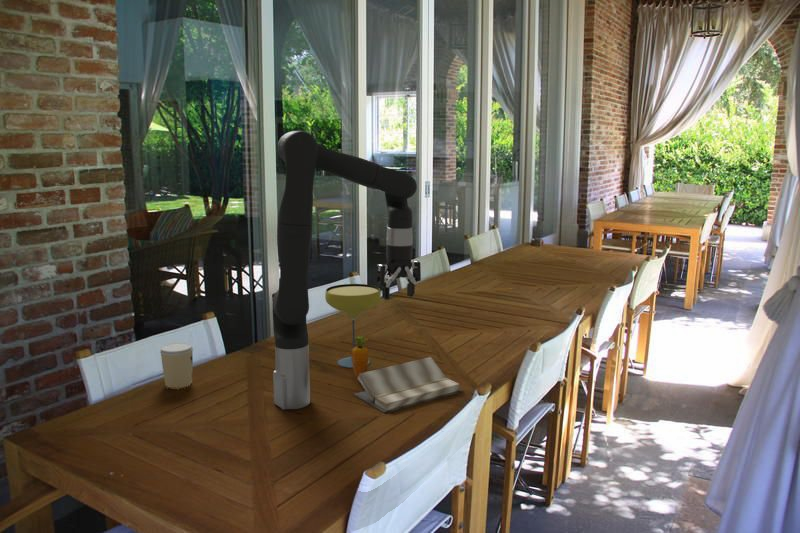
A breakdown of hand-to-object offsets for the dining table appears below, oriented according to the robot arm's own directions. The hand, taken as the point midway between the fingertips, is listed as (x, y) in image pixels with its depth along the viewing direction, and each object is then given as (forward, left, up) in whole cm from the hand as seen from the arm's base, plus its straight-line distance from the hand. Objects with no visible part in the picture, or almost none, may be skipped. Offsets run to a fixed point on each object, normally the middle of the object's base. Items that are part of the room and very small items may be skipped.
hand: (398, 297), depth 195 cm
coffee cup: (-53, +40, -28) cm, 72 cm away
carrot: (-7, +10, -28) cm, 30 cm away
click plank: (0, -2, -25) cm, 25 cm away
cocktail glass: (+1, +27, -28) cm, 39 cm away
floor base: (0, -6, -28) cm, 28 cm away
